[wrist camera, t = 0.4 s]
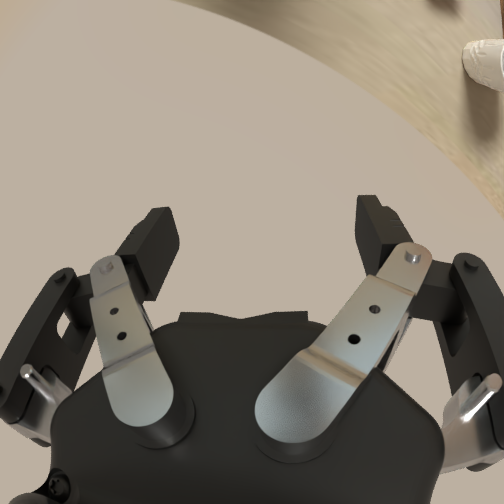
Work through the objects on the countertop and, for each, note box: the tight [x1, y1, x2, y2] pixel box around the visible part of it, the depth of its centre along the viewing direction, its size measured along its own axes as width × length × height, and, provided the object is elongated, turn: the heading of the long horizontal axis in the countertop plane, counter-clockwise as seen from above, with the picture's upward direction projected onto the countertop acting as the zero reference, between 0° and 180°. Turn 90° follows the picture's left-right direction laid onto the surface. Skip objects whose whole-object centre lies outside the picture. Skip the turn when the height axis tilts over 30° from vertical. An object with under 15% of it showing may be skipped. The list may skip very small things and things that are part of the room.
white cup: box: [462, 39, 504, 93], centre depth 21 cm, size 8×8×10 cm
